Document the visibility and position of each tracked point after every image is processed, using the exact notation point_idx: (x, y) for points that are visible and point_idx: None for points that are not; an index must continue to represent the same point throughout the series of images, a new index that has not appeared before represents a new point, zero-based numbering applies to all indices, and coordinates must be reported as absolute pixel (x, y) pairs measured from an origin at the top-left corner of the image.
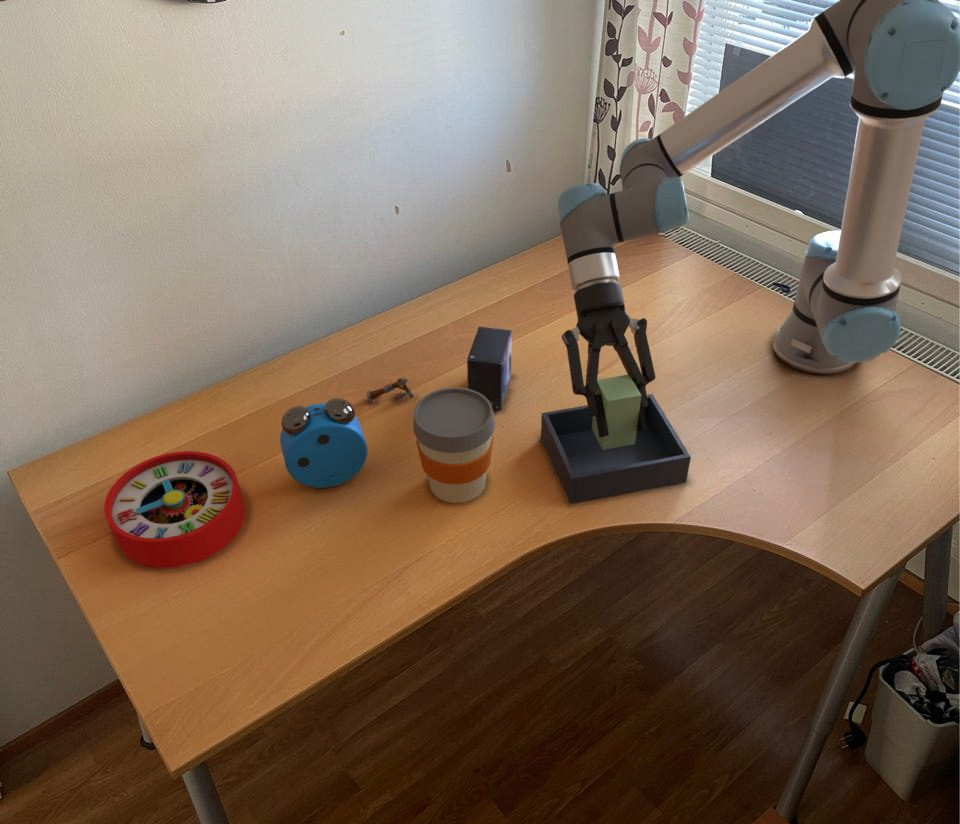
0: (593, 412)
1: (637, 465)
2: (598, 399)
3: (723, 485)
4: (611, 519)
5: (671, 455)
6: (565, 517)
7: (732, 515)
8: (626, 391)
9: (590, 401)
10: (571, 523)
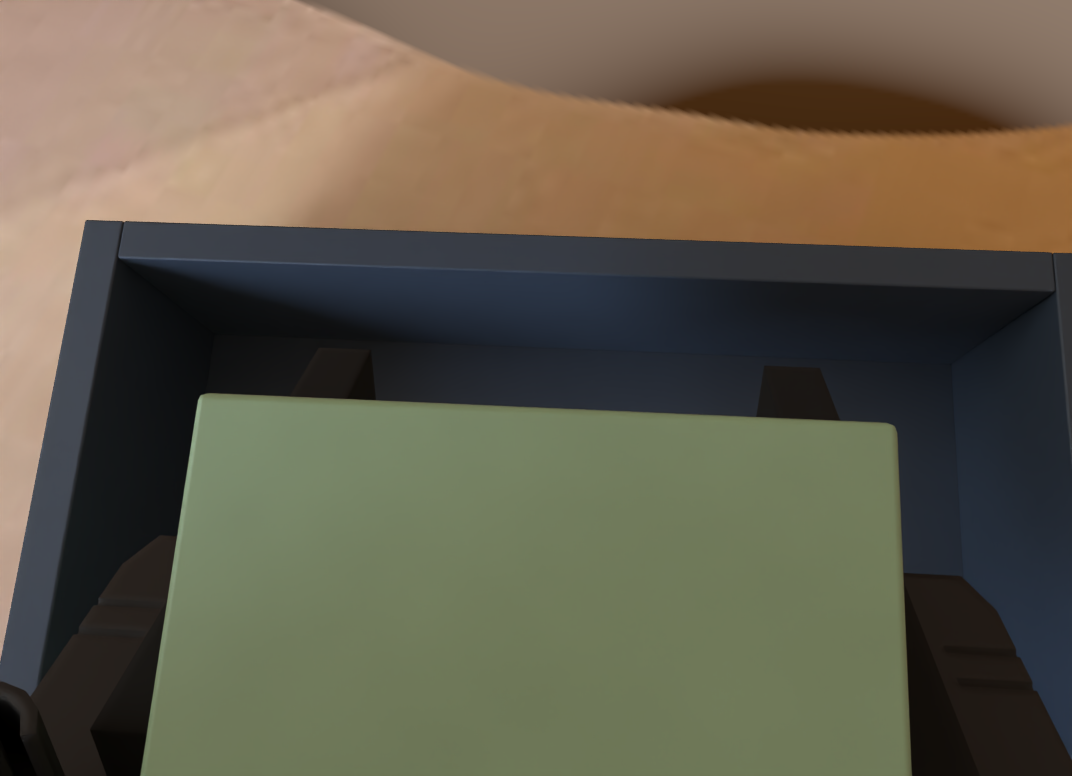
0: (966, 612)
1: (522, 244)
2: (937, 706)
3: (13, 228)
4: (756, 162)
5: (168, 490)
6: (1027, 250)
7: (107, 17)
8: (416, 587)
9: (1057, 756)
10: (1002, 196)
